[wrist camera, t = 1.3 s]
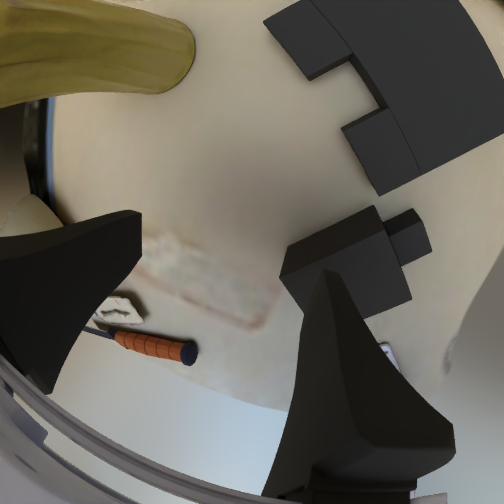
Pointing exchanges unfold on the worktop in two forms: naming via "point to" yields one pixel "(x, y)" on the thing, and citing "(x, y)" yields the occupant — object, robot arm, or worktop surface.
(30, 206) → the cup
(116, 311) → the soap
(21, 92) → the vase
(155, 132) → the worktop surface
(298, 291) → the black block with stub
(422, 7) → the base pad
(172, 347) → the knife
